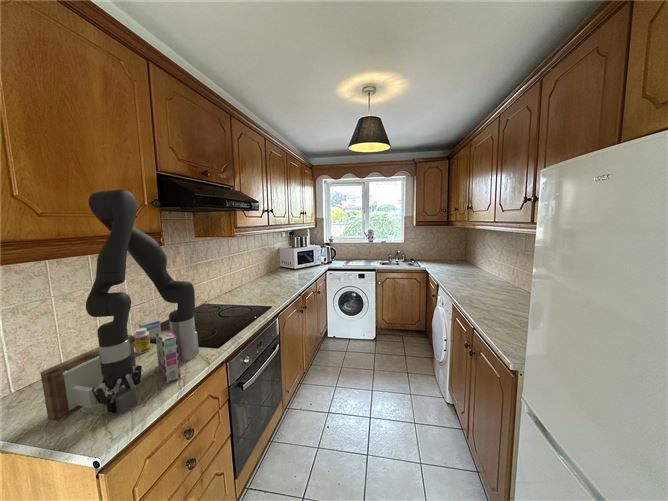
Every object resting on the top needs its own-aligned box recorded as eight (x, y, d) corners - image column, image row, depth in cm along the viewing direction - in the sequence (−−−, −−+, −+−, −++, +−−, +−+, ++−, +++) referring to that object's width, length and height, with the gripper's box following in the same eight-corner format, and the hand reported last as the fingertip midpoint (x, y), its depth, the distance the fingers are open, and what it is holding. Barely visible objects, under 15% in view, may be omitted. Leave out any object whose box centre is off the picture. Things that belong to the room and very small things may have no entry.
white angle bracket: (118, 379, 99) (114, 348, 97) (136, 382, 97) (132, 351, 95) (66, 410, 84) (60, 374, 82) (85, 414, 81) (80, 377, 80)
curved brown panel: (131, 370, 106) (127, 334, 105) (140, 372, 105) (136, 335, 103) (48, 418, 82) (40, 372, 80) (58, 421, 80) (51, 374, 79)
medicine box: (143, 342, 131) (141, 325, 130) (140, 340, 133) (138, 323, 132) (161, 337, 137) (160, 320, 136) (158, 334, 140) (156, 318, 138)
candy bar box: (181, 378, 101) (177, 336, 99) (166, 384, 97) (161, 341, 95) (173, 367, 109) (169, 328, 107) (158, 372, 105) (154, 332, 103)
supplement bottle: (142, 354, 119) (139, 332, 118) (132, 353, 121) (130, 331, 119) (153, 348, 124) (151, 327, 123) (144, 347, 126) (142, 326, 125)
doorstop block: (123, 400, 89) (121, 386, 88) (137, 403, 87) (135, 389, 87) (107, 411, 84) (105, 396, 84) (121, 414, 83) (119, 399, 82)
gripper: (129, 343, 91) (134, 390, 94) (80, 366, 78) (88, 420, 80) (146, 346, 90) (152, 393, 92) (99, 370, 76) (107, 425, 78)
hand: (122, 405), depth 86 cm, fingers closed on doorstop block, 5 cm apart
